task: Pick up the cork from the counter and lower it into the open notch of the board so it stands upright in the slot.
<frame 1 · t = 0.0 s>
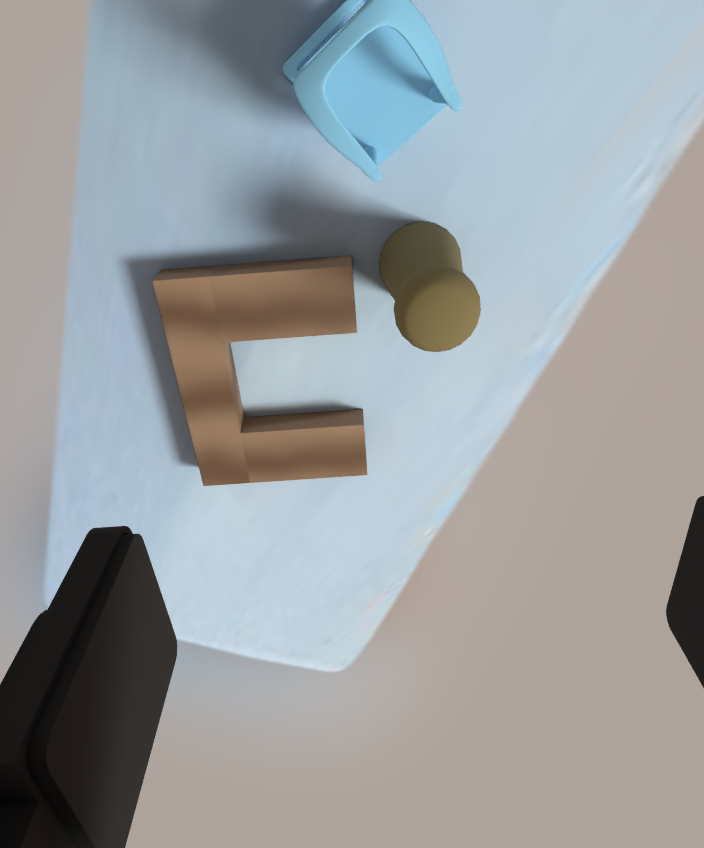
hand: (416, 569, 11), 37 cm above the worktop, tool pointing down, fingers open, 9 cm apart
chair: (369, 80, 39), on the worktop
cork: (419, 262, 45), on the worktop
notched board: (273, 372, 49), on the worktop
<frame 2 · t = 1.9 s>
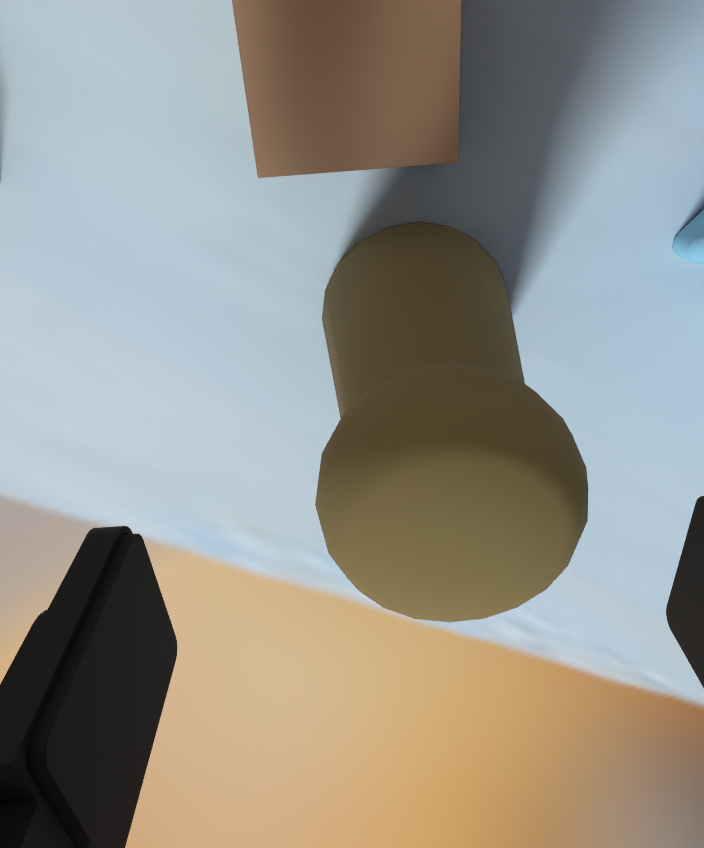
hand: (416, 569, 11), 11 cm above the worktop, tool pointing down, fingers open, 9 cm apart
cork: (414, 314, 20), on the worktop
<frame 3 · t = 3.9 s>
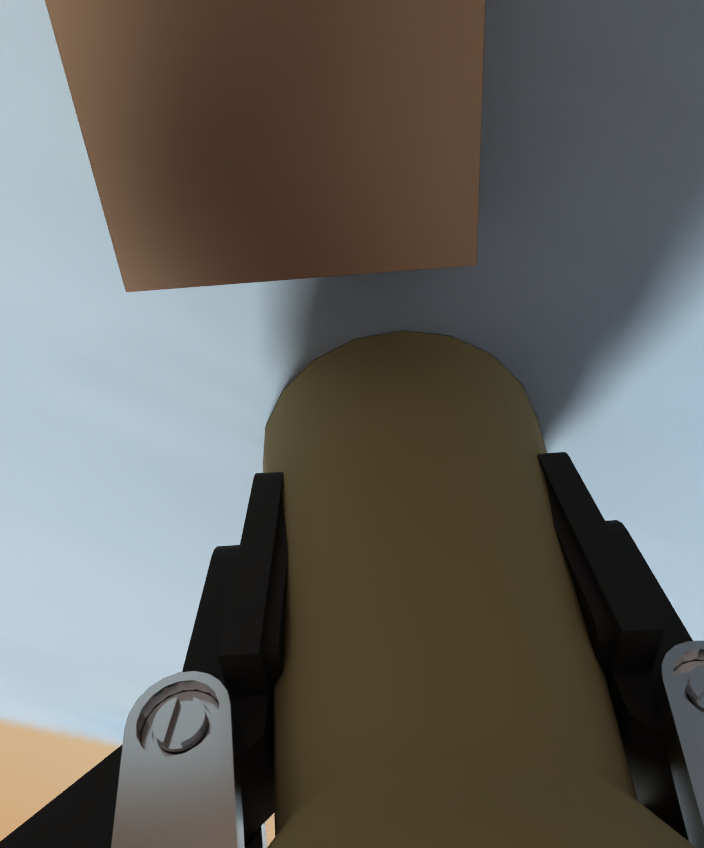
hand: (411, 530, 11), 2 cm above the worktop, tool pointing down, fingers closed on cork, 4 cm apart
cork: (400, 454, 14), on the worktop, touching gripper
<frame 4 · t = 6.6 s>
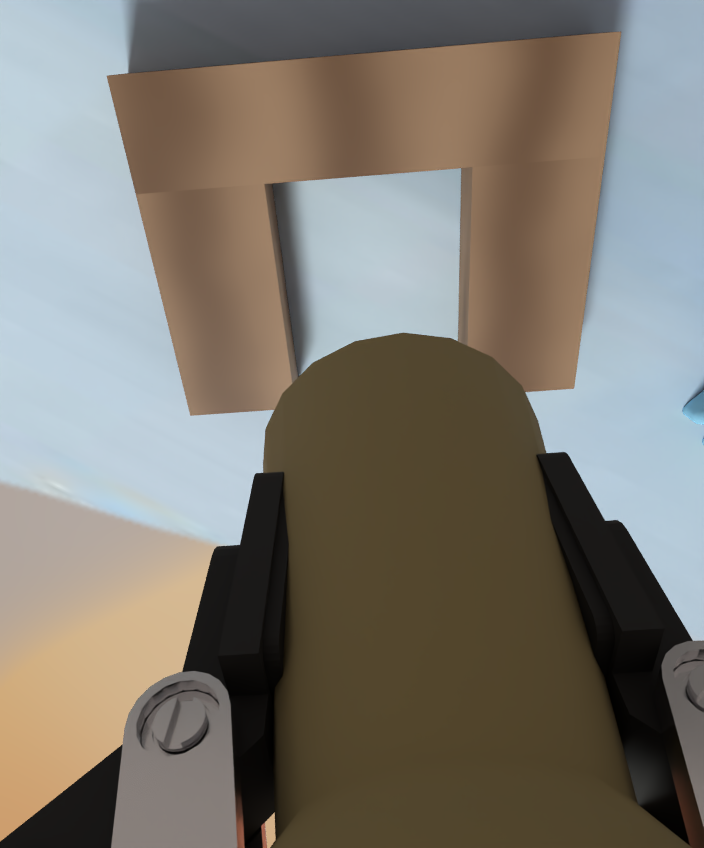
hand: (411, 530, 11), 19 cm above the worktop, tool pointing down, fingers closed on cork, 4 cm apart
cork: (400, 455, 14), point 16 cm above the worktop, touching gripper
notched board: (369, 237, 27), on the worktop
when the fingers open (4 cm above the worktop, at t = 9.3 s): cork drops 1 cm, resting in notched board.
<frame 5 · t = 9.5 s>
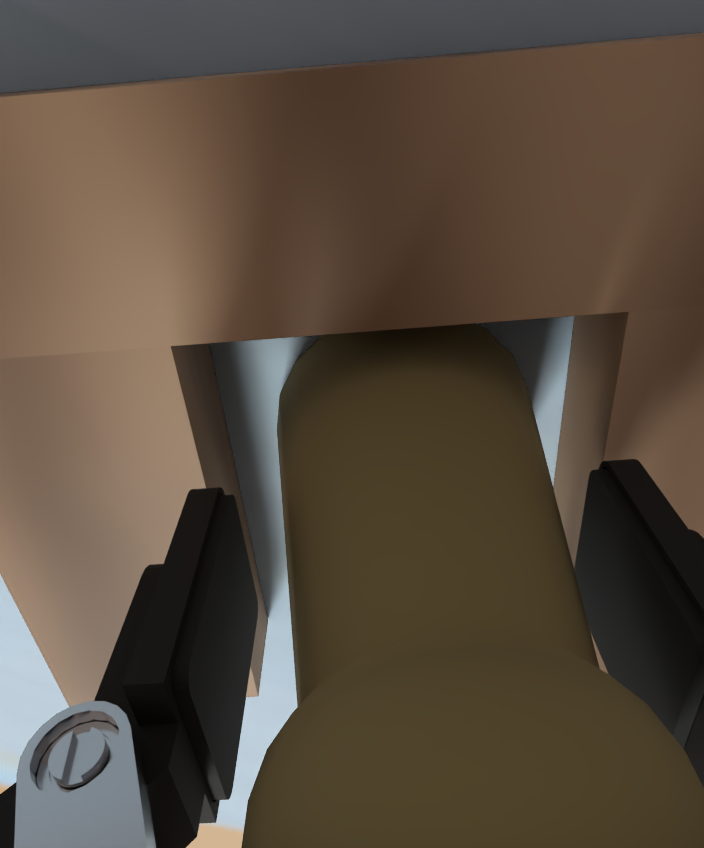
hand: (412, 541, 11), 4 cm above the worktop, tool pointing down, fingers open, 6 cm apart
cork: (402, 421, 15), resting in notched board
notched board: (393, 406, 14), on the worktop
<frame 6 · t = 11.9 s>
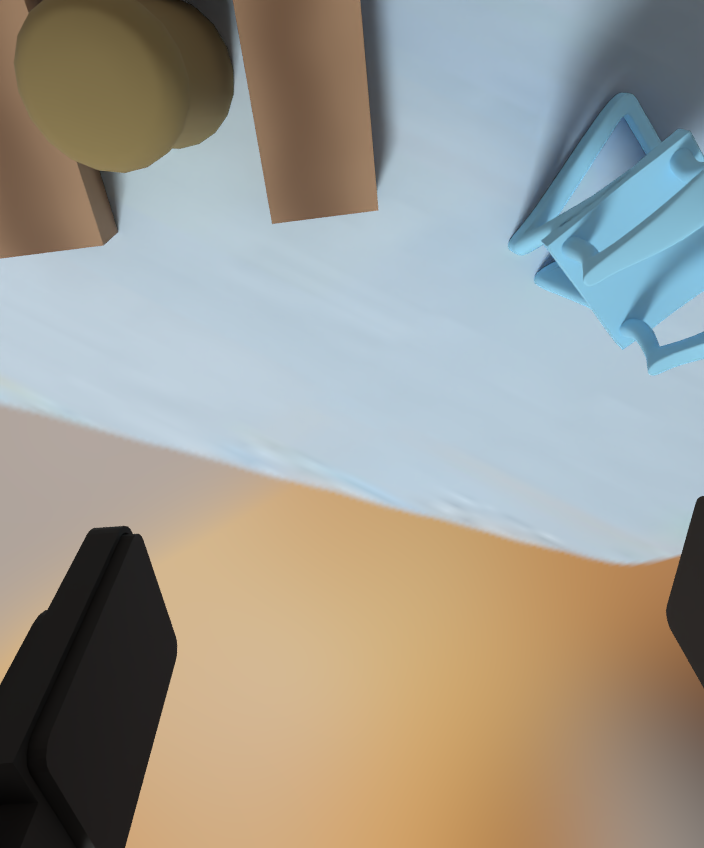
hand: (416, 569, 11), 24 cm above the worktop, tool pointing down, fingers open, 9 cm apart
chair: (587, 211, 32), on the worktop
cork: (167, 75, 28), resting in notched board
notched board: (158, 61, 27), on the worktop
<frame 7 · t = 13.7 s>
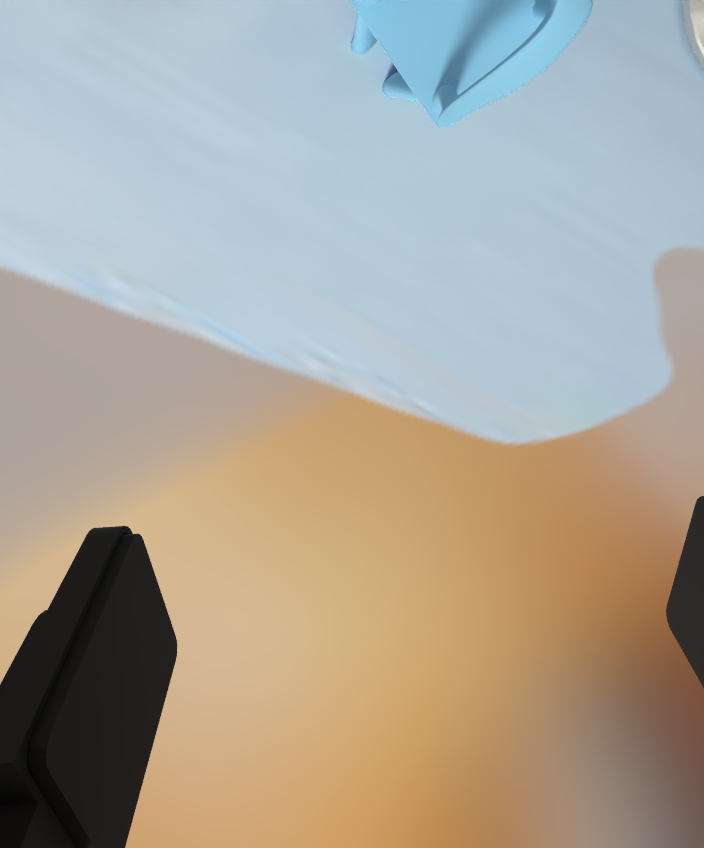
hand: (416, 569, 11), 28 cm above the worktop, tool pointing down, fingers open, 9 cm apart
chair: (433, 10, 30), on the worktop
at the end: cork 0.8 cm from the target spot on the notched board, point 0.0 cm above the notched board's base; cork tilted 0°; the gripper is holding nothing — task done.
